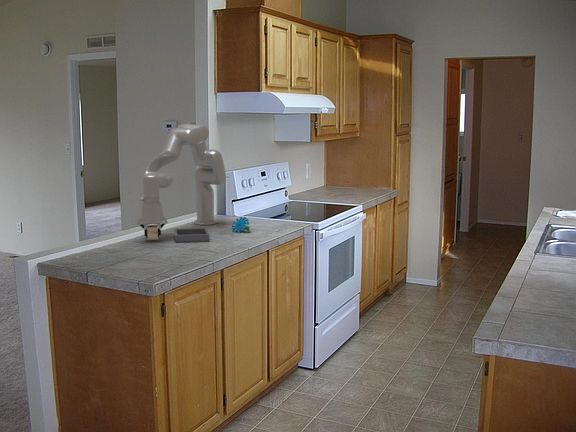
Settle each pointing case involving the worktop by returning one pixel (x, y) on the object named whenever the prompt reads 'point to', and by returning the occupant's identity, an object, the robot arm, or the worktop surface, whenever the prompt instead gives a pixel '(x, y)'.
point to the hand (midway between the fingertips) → (152, 236)
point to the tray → (191, 235)
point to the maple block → (152, 232)
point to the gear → (240, 225)
